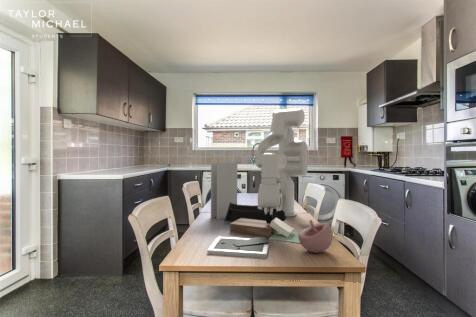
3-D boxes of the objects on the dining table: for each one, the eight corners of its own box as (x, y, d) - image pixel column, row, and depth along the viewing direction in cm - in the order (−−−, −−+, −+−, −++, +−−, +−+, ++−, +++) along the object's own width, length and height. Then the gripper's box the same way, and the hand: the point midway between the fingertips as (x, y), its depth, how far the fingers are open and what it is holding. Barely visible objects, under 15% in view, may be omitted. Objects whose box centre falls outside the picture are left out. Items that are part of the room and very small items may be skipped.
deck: (240, 226, 136) (240, 217, 136) (276, 230, 128) (276, 222, 128) (229, 232, 125) (229, 223, 125) (268, 238, 117) (268, 228, 117)
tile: (273, 221, 127) (276, 217, 126) (291, 233, 124) (293, 228, 123) (269, 225, 120) (271, 220, 120) (287, 237, 117) (290, 233, 117)
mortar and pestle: (295, 245, 108) (296, 216, 108) (327, 246, 108) (328, 216, 107) (300, 257, 96) (301, 224, 96) (336, 258, 96) (337, 225, 95)
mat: (278, 230, 130) (278, 229, 130) (309, 233, 124) (309, 233, 124) (268, 239, 116) (268, 238, 116) (303, 244, 110) (303, 243, 110)
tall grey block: (230, 214, 162) (231, 161, 161) (237, 215, 158) (237, 162, 157) (210, 217, 152) (211, 162, 151) (217, 219, 148) (217, 162, 147)
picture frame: (269, 244, 111) (217, 241, 114) (269, 237, 111) (217, 234, 114) (266, 260, 95) (207, 255, 99) (266, 251, 95) (207, 247, 99)
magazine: (219, 205, 140) (277, 189, 138) (220, 204, 143) (277, 188, 142) (229, 238, 140) (287, 222, 139) (229, 236, 143) (286, 220, 142)
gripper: (288, 181, 123) (288, 223, 124) (256, 179, 130) (256, 219, 130) (284, 183, 116) (283, 227, 117) (250, 181, 123) (250, 223, 123)
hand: (269, 223), depth 123 cm, fingers closed
